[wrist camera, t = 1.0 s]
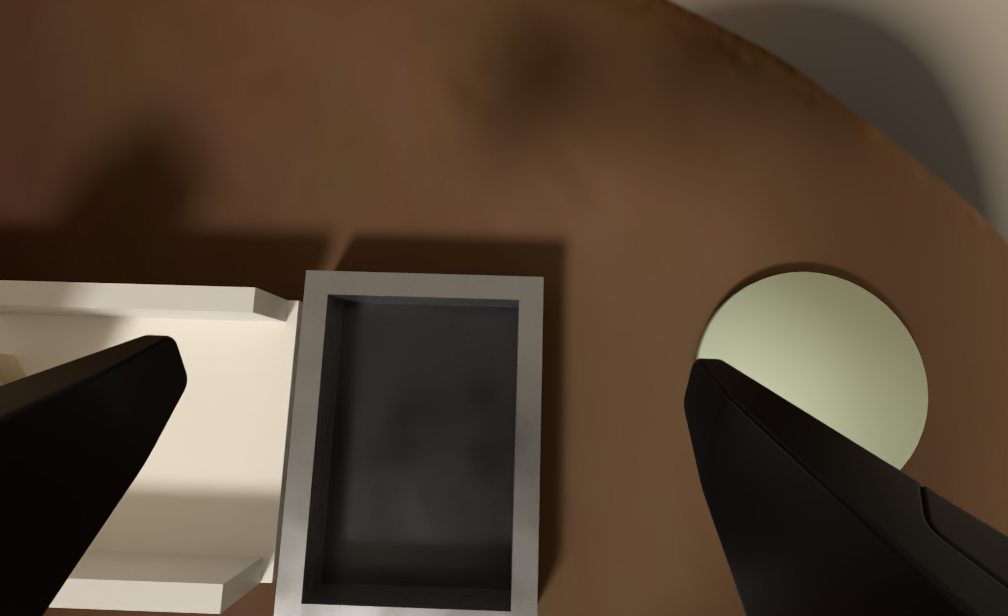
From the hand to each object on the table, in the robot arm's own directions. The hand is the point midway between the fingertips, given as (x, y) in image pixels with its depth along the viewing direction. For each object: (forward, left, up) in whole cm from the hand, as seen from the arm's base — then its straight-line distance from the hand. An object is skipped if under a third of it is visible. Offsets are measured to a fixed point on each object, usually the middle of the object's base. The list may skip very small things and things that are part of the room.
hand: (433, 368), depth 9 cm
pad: (0, -15, -14) cm, 21 cm away
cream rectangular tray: (-3, +17, -14) cm, 23 cm away
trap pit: (-3, +2, -14) cm, 15 cm away
